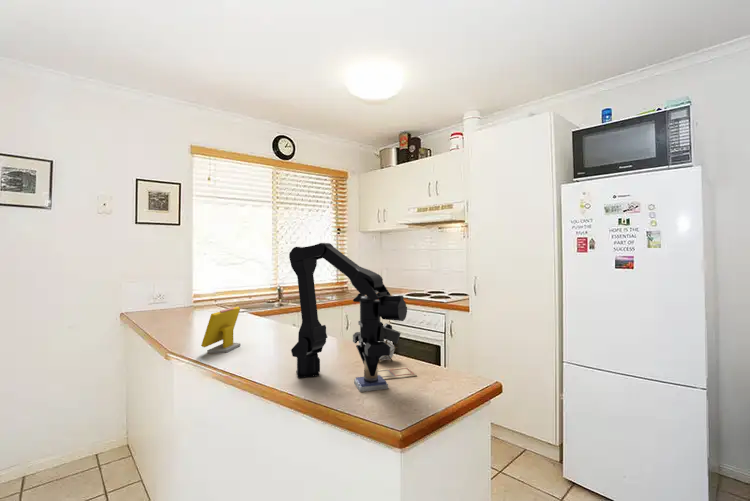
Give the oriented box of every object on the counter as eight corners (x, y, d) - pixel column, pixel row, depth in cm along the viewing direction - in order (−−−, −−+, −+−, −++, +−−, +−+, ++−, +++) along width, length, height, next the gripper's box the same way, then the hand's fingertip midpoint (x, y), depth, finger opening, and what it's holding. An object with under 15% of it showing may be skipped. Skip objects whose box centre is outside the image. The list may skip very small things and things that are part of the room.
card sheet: (375, 380, 113) (375, 379, 113) (367, 371, 122) (367, 370, 122) (416, 376, 117) (416, 375, 117) (406, 367, 125) (406, 366, 125)
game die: (388, 373, 132) (394, 354, 127) (365, 363, 134) (370, 343, 128) (396, 354, 139) (402, 335, 134) (374, 345, 141) (379, 326, 135)
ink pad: (359, 391, 104) (359, 385, 104) (354, 383, 111) (354, 377, 111) (388, 388, 106) (388, 382, 106) (380, 380, 113) (380, 374, 113)
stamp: (365, 382, 106) (365, 355, 106) (362, 377, 110) (362, 352, 110) (379, 380, 107) (379, 354, 107) (375, 376, 111) (375, 351, 111)
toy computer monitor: (228, 342, 164) (228, 305, 164) (246, 343, 163) (245, 305, 163) (201, 355, 144) (200, 312, 144) (220, 355, 143) (220, 313, 143)
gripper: (408, 322, 102) (409, 381, 102) (387, 312, 120) (387, 362, 120) (368, 324, 99) (368, 385, 99) (352, 313, 117) (352, 365, 117)
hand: (370, 373), depth 109 cm, fingers closed on stamp, 4 cm apart
